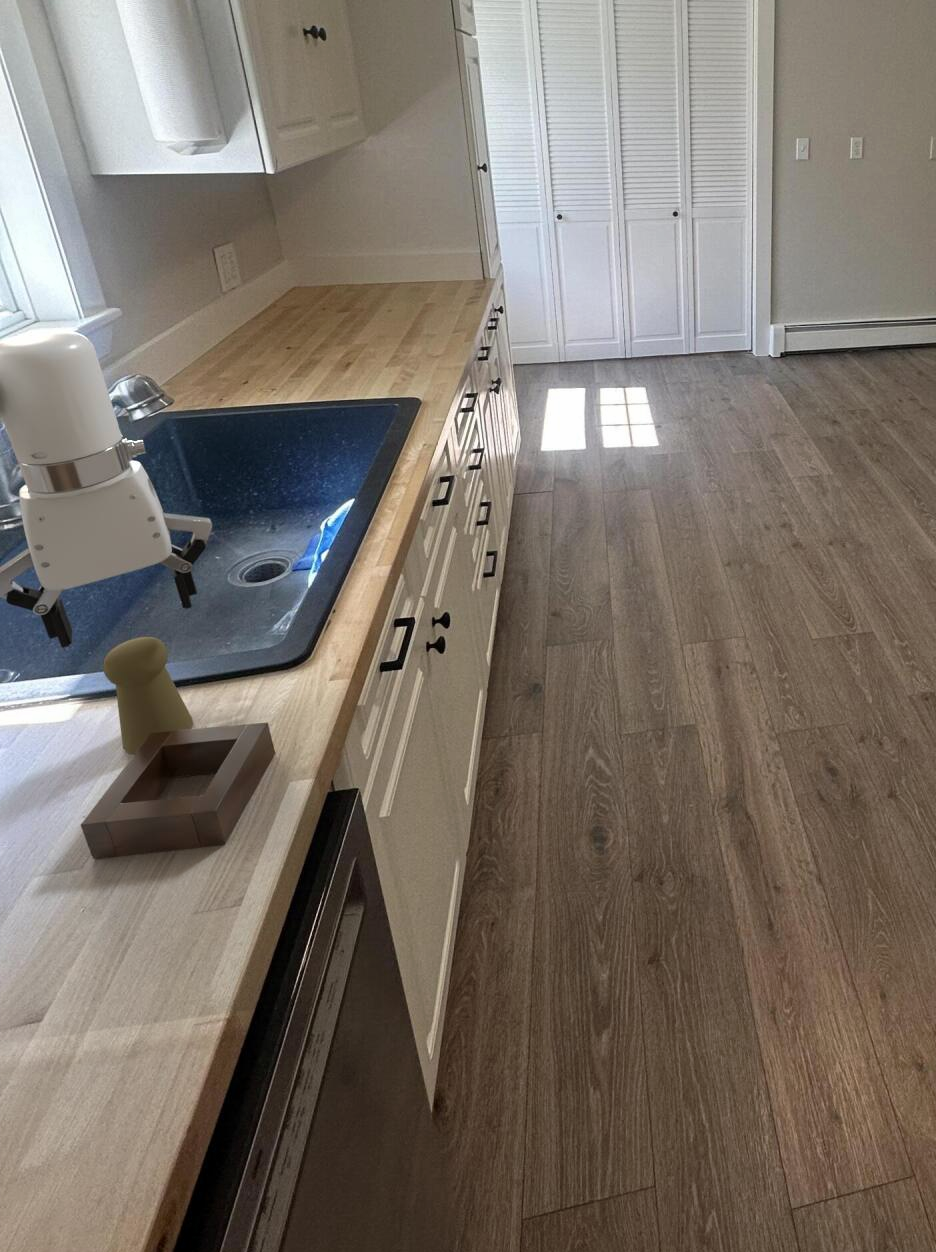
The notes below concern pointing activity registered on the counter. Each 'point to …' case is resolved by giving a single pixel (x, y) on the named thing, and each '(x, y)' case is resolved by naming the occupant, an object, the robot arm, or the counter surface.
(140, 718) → the cork
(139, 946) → the counter surface
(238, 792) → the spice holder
